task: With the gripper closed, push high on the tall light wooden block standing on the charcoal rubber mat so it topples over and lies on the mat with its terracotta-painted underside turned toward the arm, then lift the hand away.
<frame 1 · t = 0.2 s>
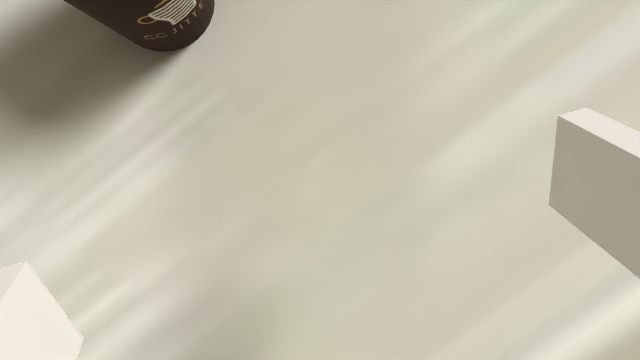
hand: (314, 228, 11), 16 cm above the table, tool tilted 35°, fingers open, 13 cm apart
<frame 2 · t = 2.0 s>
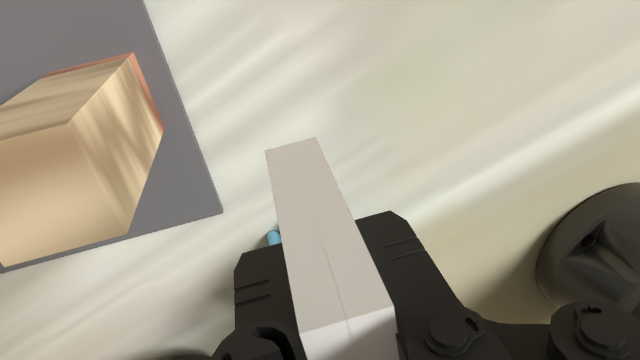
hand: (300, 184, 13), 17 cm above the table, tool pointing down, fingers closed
wood block: (110, 101, 26), point 1 cm above the table, touching mat
mat: (25, 120, 27), on the table
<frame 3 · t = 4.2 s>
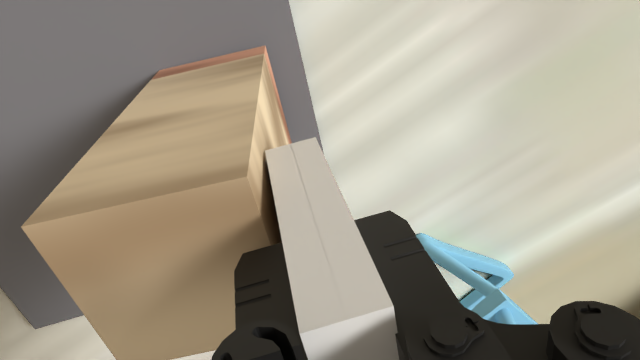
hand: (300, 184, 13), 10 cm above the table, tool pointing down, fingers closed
wood block: (229, 108, 21), point 1 cm above the table, tilted 6°, touching gripper, mat
mat: (121, 131, 21), on the table
chair: (435, 273, 30), on the table
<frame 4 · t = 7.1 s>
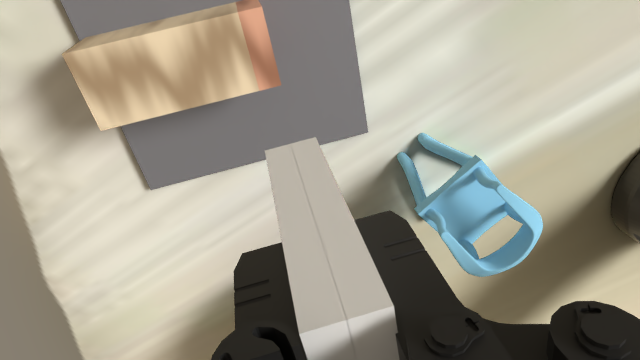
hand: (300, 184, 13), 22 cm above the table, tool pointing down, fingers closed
wood block: (268, 39, 29), point 3 cm above the table, tilted 90°, touching mat
mat: (225, 41, 31), on the table
chair: (432, 168, 41), on the table
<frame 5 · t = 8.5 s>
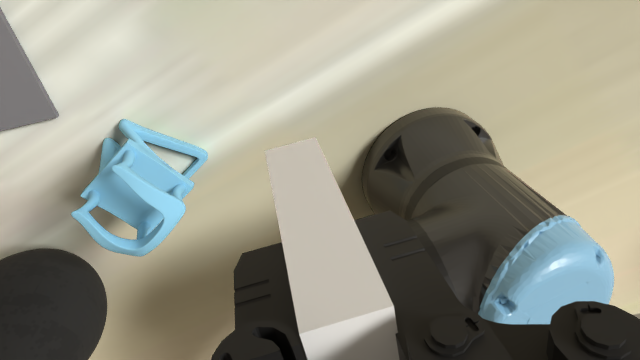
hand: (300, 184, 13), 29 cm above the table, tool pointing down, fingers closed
chair: (151, 154, 42), on the table
decorative egg: (59, 266, 46), on the table
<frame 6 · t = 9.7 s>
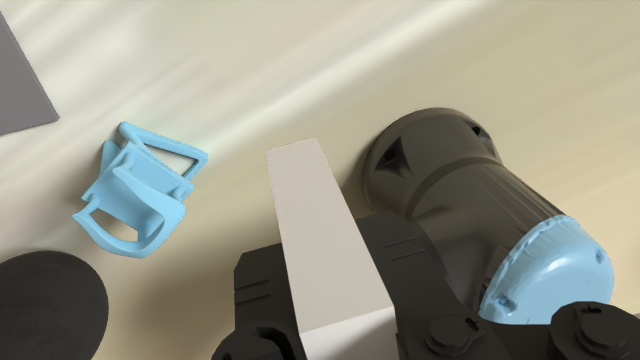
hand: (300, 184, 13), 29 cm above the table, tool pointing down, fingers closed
chair: (151, 156, 42), on the table
decorative egg: (61, 269, 46), on the table
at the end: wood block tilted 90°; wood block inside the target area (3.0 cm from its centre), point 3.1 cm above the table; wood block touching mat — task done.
